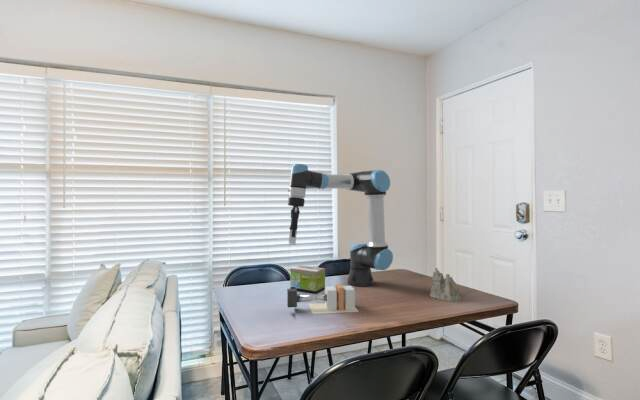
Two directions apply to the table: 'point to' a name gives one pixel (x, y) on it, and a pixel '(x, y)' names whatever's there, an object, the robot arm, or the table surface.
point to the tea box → (308, 280)
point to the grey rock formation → (444, 287)
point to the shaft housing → (335, 301)
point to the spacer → (340, 296)
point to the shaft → (302, 298)
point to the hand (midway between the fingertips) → (291, 243)
